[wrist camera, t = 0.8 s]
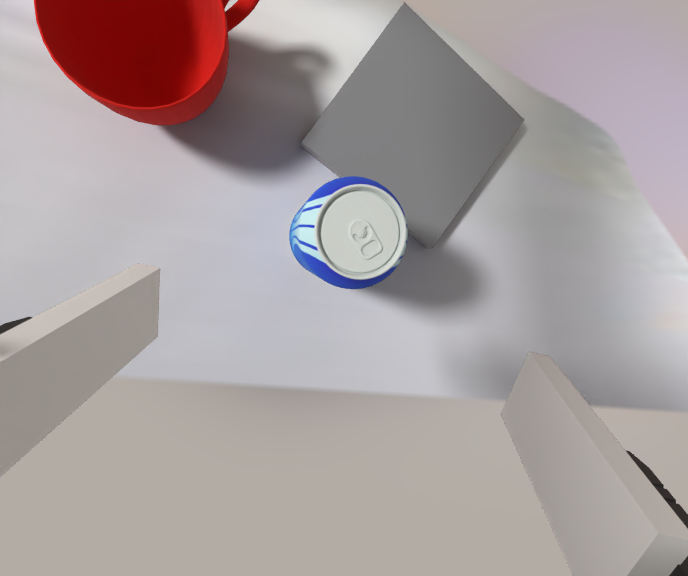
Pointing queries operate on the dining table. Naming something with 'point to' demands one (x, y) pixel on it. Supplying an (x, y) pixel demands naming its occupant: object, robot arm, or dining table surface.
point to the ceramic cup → (143, 52)
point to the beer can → (350, 233)
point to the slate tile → (415, 125)
